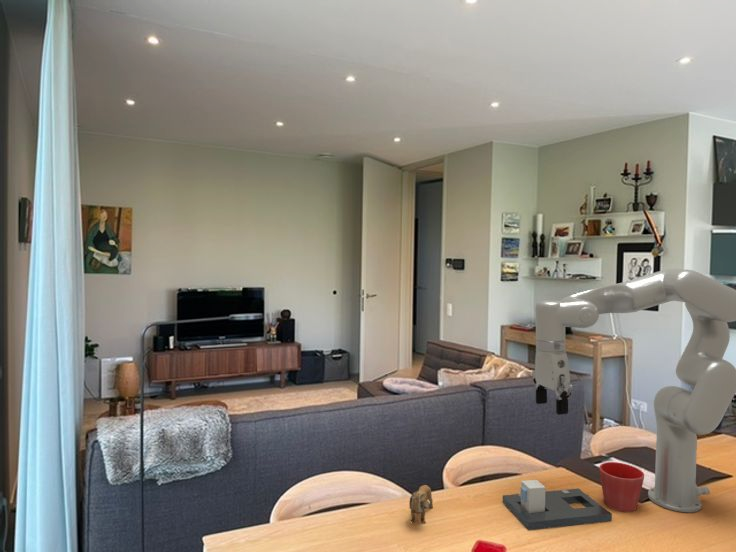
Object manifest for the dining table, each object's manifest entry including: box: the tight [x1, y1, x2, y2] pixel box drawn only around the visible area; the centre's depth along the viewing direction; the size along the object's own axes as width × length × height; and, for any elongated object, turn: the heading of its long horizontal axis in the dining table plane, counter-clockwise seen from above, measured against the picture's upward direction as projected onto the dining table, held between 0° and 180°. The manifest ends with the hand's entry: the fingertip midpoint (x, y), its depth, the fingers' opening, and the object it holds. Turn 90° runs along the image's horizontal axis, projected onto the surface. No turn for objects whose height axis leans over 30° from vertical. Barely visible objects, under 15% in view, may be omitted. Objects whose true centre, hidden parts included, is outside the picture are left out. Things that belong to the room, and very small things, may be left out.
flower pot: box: [598, 461, 645, 513], centre depth 136 cm, size 11×11×10 cm
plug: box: [519, 479, 546, 513], centre depth 131 cm, size 5×4×8 cm
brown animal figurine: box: [408, 484, 434, 524], centre depth 130 cm, size 15×5×9 cm, turn 168°
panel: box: [502, 488, 613, 531], centre depth 133 cm, size 23×14×2 cm, turn 101°
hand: (551, 408), depth 137 cm, fingers open, 9 cm apart
